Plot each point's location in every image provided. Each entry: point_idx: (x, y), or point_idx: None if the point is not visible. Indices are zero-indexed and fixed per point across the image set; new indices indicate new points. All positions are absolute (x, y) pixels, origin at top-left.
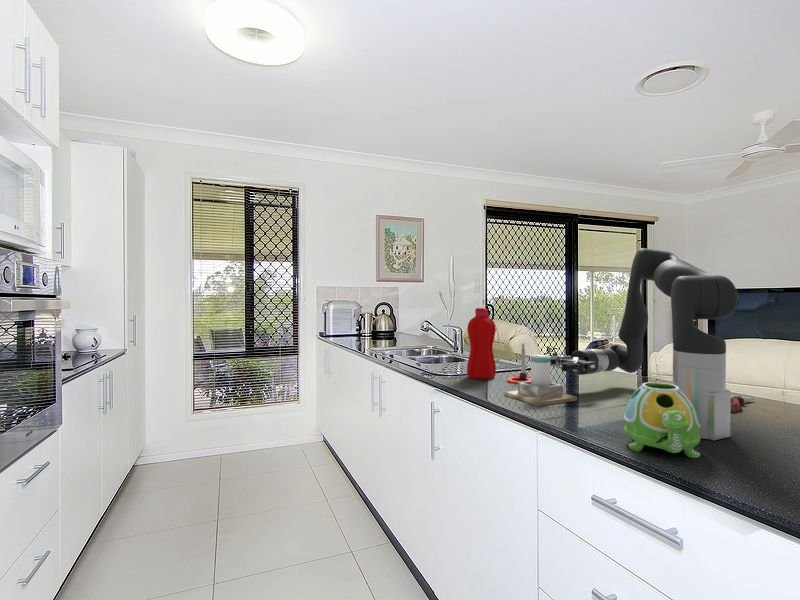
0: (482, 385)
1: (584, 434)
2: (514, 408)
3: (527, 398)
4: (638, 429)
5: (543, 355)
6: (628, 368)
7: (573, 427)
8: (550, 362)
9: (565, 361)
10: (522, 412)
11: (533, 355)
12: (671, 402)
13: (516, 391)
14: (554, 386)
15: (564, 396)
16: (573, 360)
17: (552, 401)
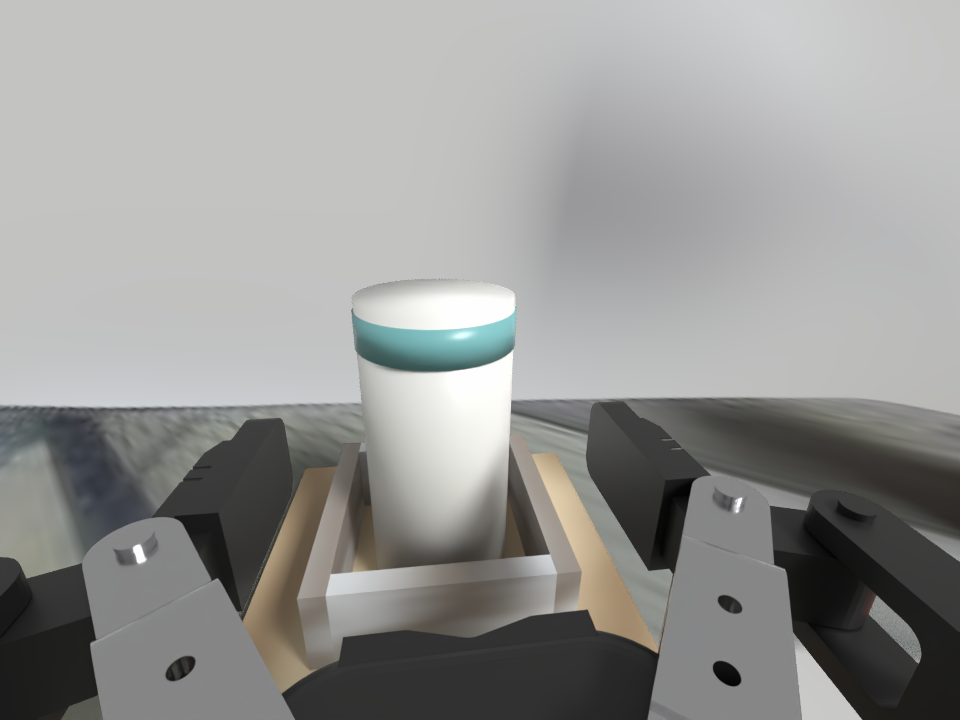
0: (819, 485)
1: (10, 423)
2: (349, 417)
3: None
4: None
5: (437, 302)
6: None
7: (61, 433)
8: (677, 544)
9: (490, 647)
10: (296, 414)
11: (462, 283)
12: None
13: (552, 492)
14: (319, 525)
15: (283, 666)
16: (208, 585)
17: (283, 532)
